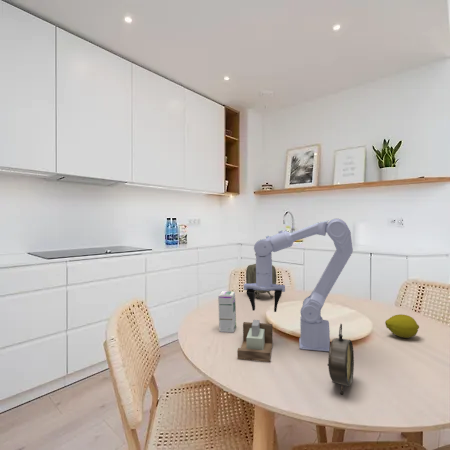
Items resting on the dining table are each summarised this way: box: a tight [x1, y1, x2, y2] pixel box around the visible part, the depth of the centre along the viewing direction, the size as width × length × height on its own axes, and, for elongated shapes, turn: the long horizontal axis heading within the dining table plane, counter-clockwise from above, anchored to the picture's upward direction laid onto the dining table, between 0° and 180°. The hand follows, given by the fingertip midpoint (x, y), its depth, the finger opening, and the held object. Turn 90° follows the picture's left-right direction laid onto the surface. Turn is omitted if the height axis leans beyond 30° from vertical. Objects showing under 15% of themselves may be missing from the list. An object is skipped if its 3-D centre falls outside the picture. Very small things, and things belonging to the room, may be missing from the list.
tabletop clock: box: [245, 253, 277, 299], centre depth 155 cm, size 14×9×25 cm, turn 43°
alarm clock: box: [327, 323, 355, 396], centre depth 76 cm, size 11×5×16 cm, turn 148°
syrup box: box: [217, 290, 237, 333], centre depth 114 cm, size 6×6×14 cm
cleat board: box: [237, 321, 274, 363], centre depth 96 cm, size 10×12×7 cm
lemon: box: [384, 314, 420, 339], centre depth 105 cm, size 11×8×8 cm
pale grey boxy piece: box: [246, 319, 265, 350], centre depth 96 cm, size 5×8×8 cm, turn 167°
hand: (264, 310), depth 104 cm, fingers open, 7 cm apart
